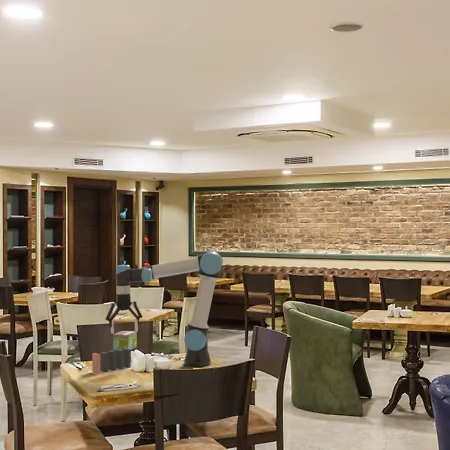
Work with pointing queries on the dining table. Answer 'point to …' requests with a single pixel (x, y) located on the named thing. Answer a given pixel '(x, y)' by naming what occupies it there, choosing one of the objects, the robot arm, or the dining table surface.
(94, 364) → the domino
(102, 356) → the domino
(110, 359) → the domino
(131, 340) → the tea box
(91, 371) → the domino mat
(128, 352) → the domino
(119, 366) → the domino
